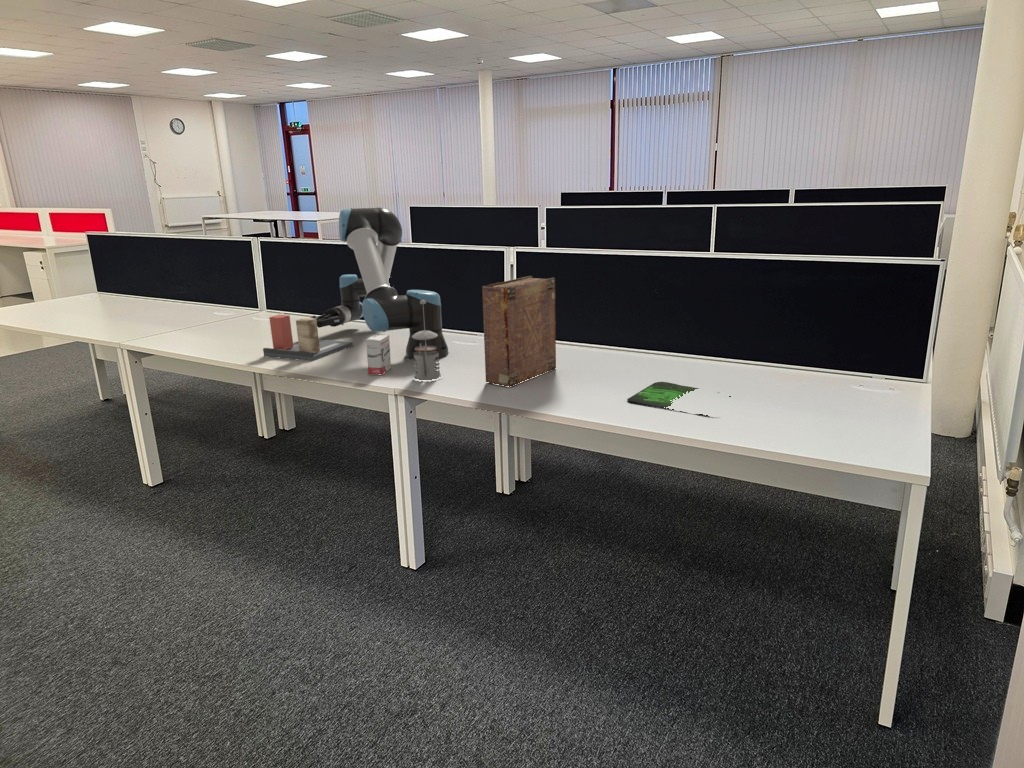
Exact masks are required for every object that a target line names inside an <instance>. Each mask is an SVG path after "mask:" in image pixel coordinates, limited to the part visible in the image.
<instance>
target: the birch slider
mask: <svg viewBox="0 0 1024 768" xmlns="http://www.w3.org/2000/svg"><path fill="white" fill-rule="evenodd" d="M295 326H296V333H297V341H298V343H299V351H304V352H313V353H316V352H319V351H320V347H319V339H320V337H319V330H318V329H319V328H318V327H317V320H316V319H315V318H311V317H303V318H299V319H295Z"/></svg>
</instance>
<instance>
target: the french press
mask: <svg viewBox="0 0 1024 768" xmlns="http://www.w3.org/2000/svg"><path fill="white" fill-rule="evenodd" d="M420 304H426V301H425V300H421V301H420ZM423 316H424V305H423ZM437 336H438V334H436V333H434V332H432V331H426V330H425V321H424V330H423V331H419V332H417V333H415V334H414V335H413V336H412V338H413V339H416V340H425V346H421V343H420V346H419V347H416V348H415V351H417V352H415V353H414V358H415V359H413V361H414V363H413V364H414V376H413V377H414V378H415V379H419V380H432V379H437V378H439V377H441V375H442V374H441V372H440V358H438V357H439V353H438V351H435V350H436V349H437V347H436V346H427V344H426V340H429V339H433V338H436V337H437ZM435 358H437V359H435Z"/></svg>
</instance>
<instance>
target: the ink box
mask: <svg viewBox="0 0 1024 768" xmlns="http://www.w3.org/2000/svg"><path fill="white" fill-rule="evenodd" d="M365 343H366V356H367V361H366V362H367V373H368V374H377V375H376V376H379V375H378V374H383V373H384V372H385V373H387V372H388V371H390V370H391V369H392V363H391V347H390V344H391V343H390V334H383V333H381V334H380V333H379V334H378V333H376V334H374V335H372V336H370V337H368V338H367V339H366V341H365ZM390 368H391V369H390ZM389 369H390V370H389ZM387 370H388V371H387ZM386 371H387V372H386ZM385 373H384V374H385ZM368 374H367V375H368ZM384 374H383V375H384Z"/></svg>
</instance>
